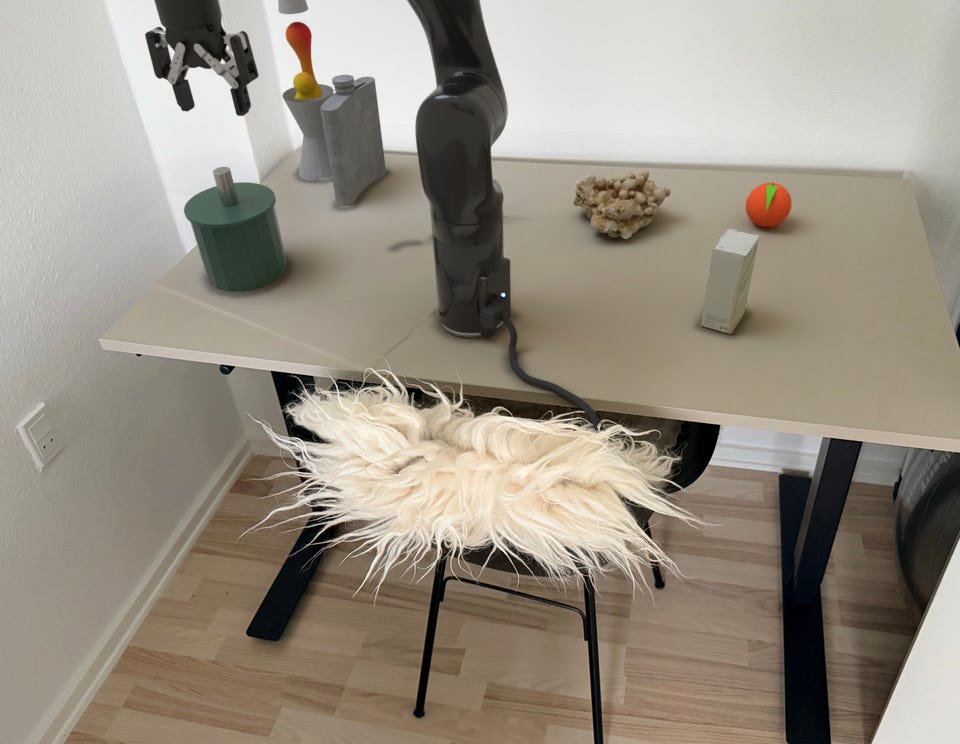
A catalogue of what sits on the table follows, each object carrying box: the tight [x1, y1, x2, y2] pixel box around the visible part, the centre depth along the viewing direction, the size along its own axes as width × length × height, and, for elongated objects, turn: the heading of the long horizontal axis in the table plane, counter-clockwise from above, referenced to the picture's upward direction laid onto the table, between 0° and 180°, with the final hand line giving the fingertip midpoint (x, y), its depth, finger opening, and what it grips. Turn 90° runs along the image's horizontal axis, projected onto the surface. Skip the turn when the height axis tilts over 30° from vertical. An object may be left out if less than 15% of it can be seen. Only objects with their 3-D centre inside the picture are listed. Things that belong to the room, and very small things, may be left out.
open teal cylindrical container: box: [190, 206, 288, 293], centre depth 120 cm, size 12×12×12 cm
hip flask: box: [320, 74, 387, 207], centre depth 138 cm, size 16×4×20 cm, turn 159°
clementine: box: [745, 181, 793, 228], centre depth 126 cm, size 8×7×7 cm
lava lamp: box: [277, 0, 335, 183], centre depth 139 cm, size 9×9×35 cm
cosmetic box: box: [700, 228, 760, 335], centre depth 106 cm, size 6×4×12 cm
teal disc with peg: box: [183, 166, 277, 228], centre depth 115 cm, size 13×13×6 cm
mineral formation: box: [572, 169, 672, 240], centre depth 129 cm, size 8×13×15 cm
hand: (216, 111), depth 108 cm, fingers open, 8 cm apart
